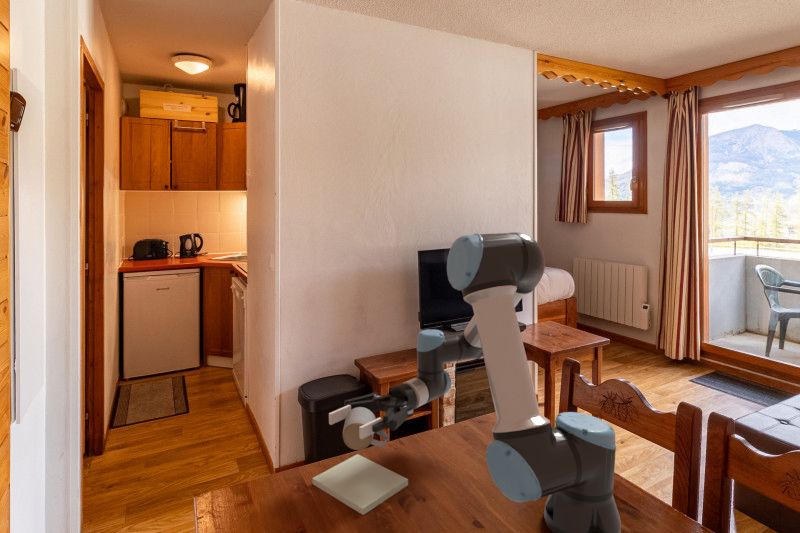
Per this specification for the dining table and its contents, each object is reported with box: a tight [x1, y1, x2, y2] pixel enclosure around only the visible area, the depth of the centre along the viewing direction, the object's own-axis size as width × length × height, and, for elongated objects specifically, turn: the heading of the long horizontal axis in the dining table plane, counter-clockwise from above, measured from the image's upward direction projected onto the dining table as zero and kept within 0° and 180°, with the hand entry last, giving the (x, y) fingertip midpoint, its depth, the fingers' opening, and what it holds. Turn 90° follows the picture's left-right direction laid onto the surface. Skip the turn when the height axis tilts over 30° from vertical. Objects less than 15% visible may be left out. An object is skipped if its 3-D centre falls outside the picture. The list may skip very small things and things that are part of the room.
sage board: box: [311, 453, 409, 516], centre depth 117 cm, size 18×15×2 cm
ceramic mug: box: [342, 407, 389, 451], centre depth 115 cm, size 11×8×8 cm
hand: (344, 425), depth 112 cm, fingers closed on ceramic mug, 10 cm apart
